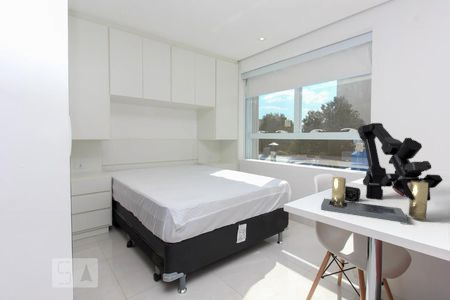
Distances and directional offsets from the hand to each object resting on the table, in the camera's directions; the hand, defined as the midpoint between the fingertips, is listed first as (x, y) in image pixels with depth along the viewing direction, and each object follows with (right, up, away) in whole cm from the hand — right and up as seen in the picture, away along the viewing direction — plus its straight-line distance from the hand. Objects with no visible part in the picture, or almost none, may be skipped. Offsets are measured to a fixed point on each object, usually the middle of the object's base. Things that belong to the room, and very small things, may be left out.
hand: (421, 199), depth 82 cm
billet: (-24, -6, +13) cm, 28 cm away
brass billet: (0, -6, +2) cm, 7 cm away
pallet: (-17, -7, +9) cm, 21 cm away
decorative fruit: (+23, -6, +37) cm, 44 cm away
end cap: (-12, -6, +28) cm, 31 cm away
